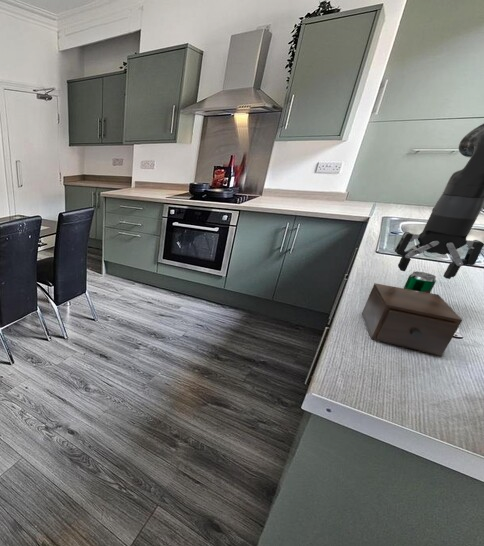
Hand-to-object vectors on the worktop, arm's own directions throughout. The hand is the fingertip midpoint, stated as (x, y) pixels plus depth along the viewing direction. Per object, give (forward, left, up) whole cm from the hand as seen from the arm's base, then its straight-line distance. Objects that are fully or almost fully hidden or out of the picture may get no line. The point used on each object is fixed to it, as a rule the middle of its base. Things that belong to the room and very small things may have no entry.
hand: (423, 273), depth 83 cm
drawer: (+4, +17, -11) cm, 21 cm away
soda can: (0, 0, -12) cm, 12 cm away
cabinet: (+4, +15, -12) cm, 20 cm away
